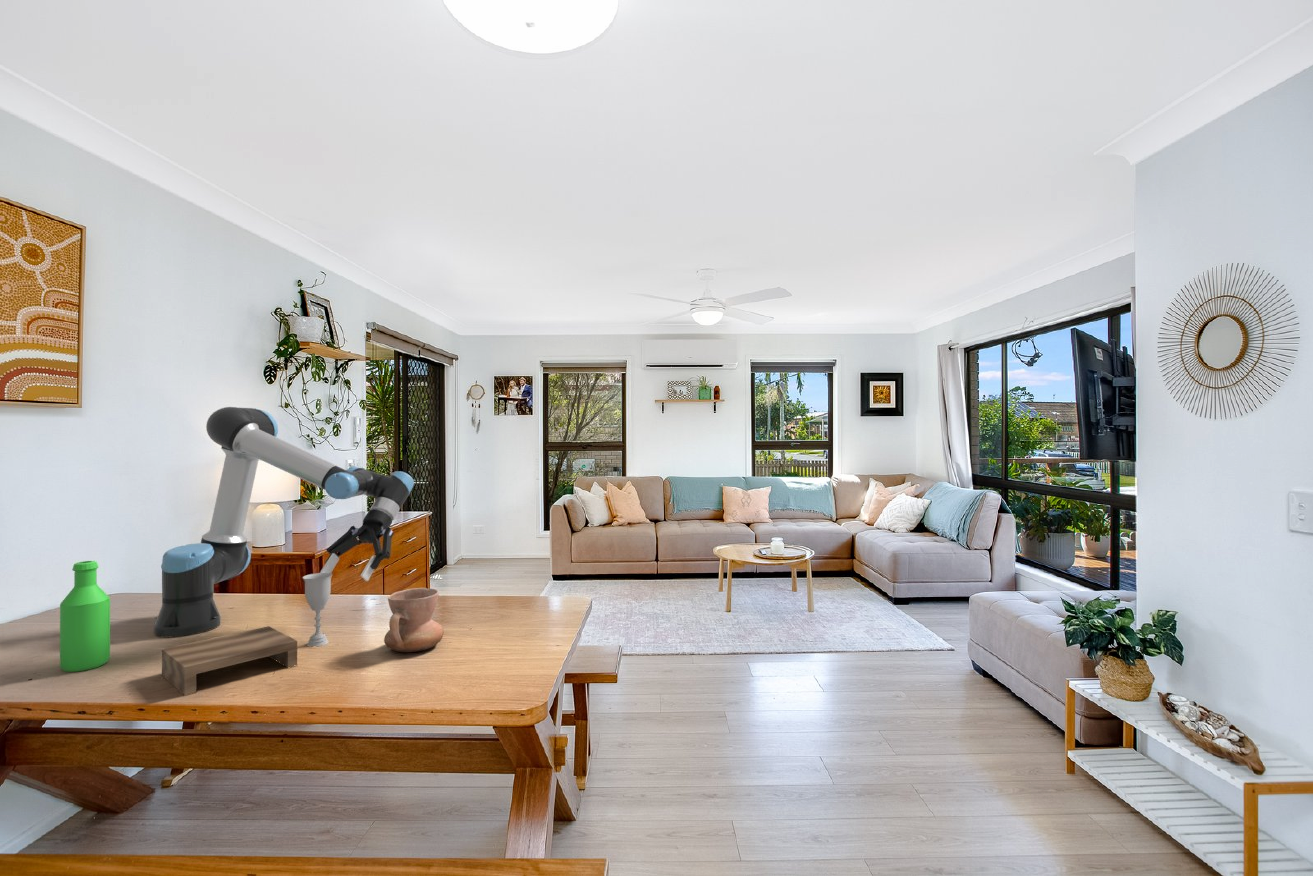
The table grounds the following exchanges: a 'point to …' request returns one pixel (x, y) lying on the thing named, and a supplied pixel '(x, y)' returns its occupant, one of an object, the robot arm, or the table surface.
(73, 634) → the bottle
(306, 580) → the chalice
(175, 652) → the walnut shelf
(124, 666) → the table surface
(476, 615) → the table surface
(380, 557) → the robot arm
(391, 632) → the ceramic jug
